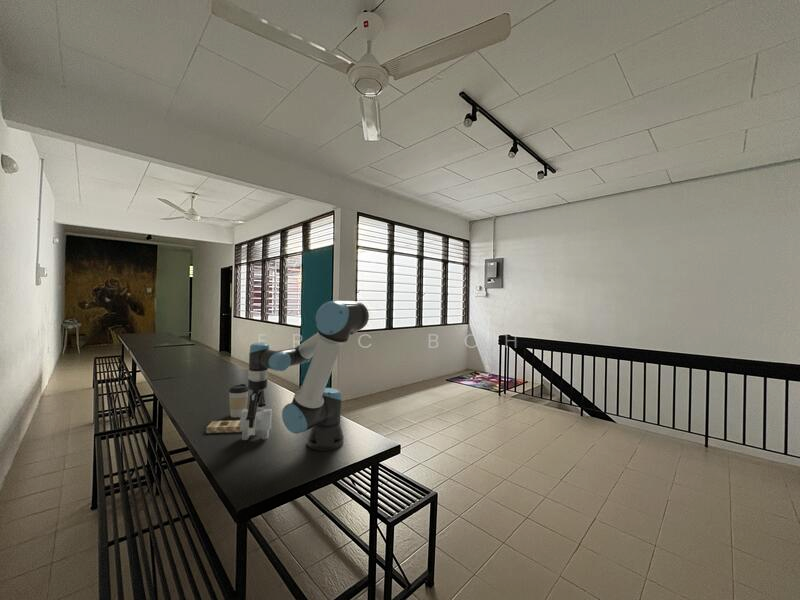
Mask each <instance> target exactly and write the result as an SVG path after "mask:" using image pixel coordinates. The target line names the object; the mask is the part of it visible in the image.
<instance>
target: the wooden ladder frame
mask: <svg viewBox="0 0 800 600" xmlns="http://www.w3.org/2000/svg"><path fill="white" fill-rule="evenodd" d="M214 433H216V434H217V433H242V431H240V420H237V419H236V420H212V421H211V422H210V423H209V424H208V425H207V426H206V434H214Z"/></svg>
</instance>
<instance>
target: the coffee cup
mask: <svg viewBox="0 0 800 600" xmlns="http://www.w3.org/2000/svg"><path fill="white" fill-rule="evenodd" d="M249 390H250V389H248V385H246V384H244V383H241V384H235V385H232V386H231V388H229V391H228V392H229V397H228V399H229V411H230V412H229V413H230V417H231V418H235V419H236V418H237V417H238V418H240V417H241V411H242V410H243V409H247V406H248V401H249V400H248V399H249Z"/></svg>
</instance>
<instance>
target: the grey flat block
mask: <svg viewBox="0 0 800 600" xmlns="http://www.w3.org/2000/svg"><path fill="white" fill-rule="evenodd" d="M247 415H248V408H246V409H243V410H242V411H241V417H239V418H240V431H242V432H241V441H246V440H249V438H250V435H248V420H246V418H247ZM250 417H252V416H250ZM272 417H273V409H272V408H263V409H257V411H256V416H255V419H256V424H255V431H261V440H268V439H269V436H270V430H271V429H272V423H273V422H272Z"/></svg>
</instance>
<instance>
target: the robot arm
mask: <svg viewBox="0 0 800 600" xmlns="http://www.w3.org/2000/svg"><path fill="white" fill-rule="evenodd" d="M369 319H370V314H369V310H368V307H367V306H366V305H364V303H362V302H360V301H357V300H339V299H338V300H331V301H326V302H325V303H323V304H322V305H321V306H320V307H319V308H318V310H317V312H316V314H315V322H316V324H315V325H316V328H317V333H315V334H313V335H312V336H310V337H309V338H308V339H306V340H304V341H303V342H302V343H300V344H299V345H297V346H296V347H293V348H287V349H281V350H271V349H270V346H269V343H266V342H256V343H252V344H250V347H249V353H248V357H249V358H248V371H247V374H248V381H247V387H248V389H249V390H250V391H252V393H251V394H250V395H249V403H248V408H247V409H248V415H247V418H246V420H248V435H249V436H255V434H256V430H255V424H256V419H255V416H256V411H257V409H265V408H264V407H266V400H265V398H266V397H265V389H267V387H268V379H267V378H268V372H269V369H270V370H273V371H276V372H285V371H286V370H287V369H288V368H289V367H292V366H296V365H305V363H309V362H310V363H309V366H308V368H307V372H306V374H305V376H304V380H303V382H302V385H301V387H300V389H299V390H297V391H295V393H294V395H293V399H292V401H291V402H290V403H287V404H286V405H284V406H283V407H282V412H281V418H282V422H283V424H284V427H285V428H286V429H287V431H289V432H290V433H292V434H294V435H295V434H296V435H297V434H301V433H305V432H307V431H308V430H310V431H309V433H308V436H307V442H306V443H307V444H306V445H307V447H308V448H310V449H312V450H315V451H320V452H326V451H333V450H336V449H339V448H340V447H342V445H343V444H344V440H345V439H344V433H343V429H342V426H341V415H342V413H341V412H342V411H341V410H342V392H341V390H339V389H337V388H331V387H327V384H328V382H329V380H330V379H329V378H330V377H331V374H332V372H333V368H334V366H335V363H336V361H337V358H338V356H339V353H340V350H341V348H342V345H343V344H345V343H347V342H348V341H349V337H350V336H351V335H354V334H355V333H357V332H358V331H361V330H362V329H364V328H365V327H366V326H367V325H368V323H369ZM250 416H252V417H250Z"/></svg>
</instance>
